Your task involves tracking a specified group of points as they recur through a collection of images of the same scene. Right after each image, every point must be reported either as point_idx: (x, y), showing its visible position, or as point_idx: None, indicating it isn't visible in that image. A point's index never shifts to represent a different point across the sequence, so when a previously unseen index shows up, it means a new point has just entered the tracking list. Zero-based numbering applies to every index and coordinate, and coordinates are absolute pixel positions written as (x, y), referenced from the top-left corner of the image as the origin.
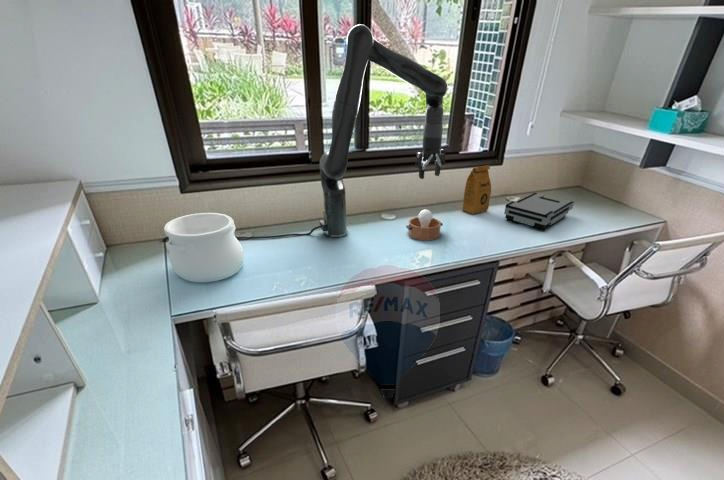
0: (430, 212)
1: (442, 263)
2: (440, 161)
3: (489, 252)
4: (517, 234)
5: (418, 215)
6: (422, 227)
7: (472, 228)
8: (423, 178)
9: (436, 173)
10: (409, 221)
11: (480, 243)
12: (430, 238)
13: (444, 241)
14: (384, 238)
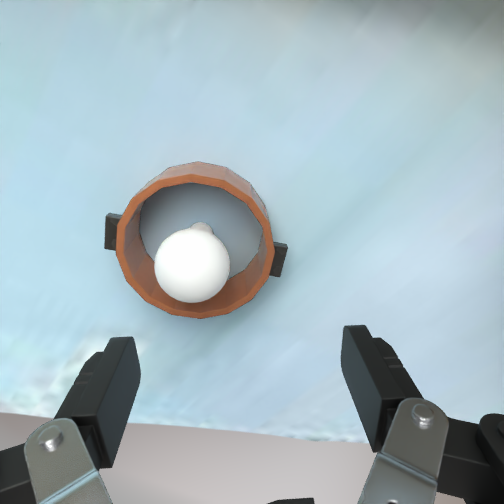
0: (208, 296)
1: None
2: (487, 477)
3: (296, 426)
4: (487, 381)
5: (159, 248)
6: (148, 296)
7: (417, 278)
8: (136, 379)
9: (349, 361)
10: (128, 208)
11: (325, 378)
12: None
13: (230, 318)
14: (10, 182)
